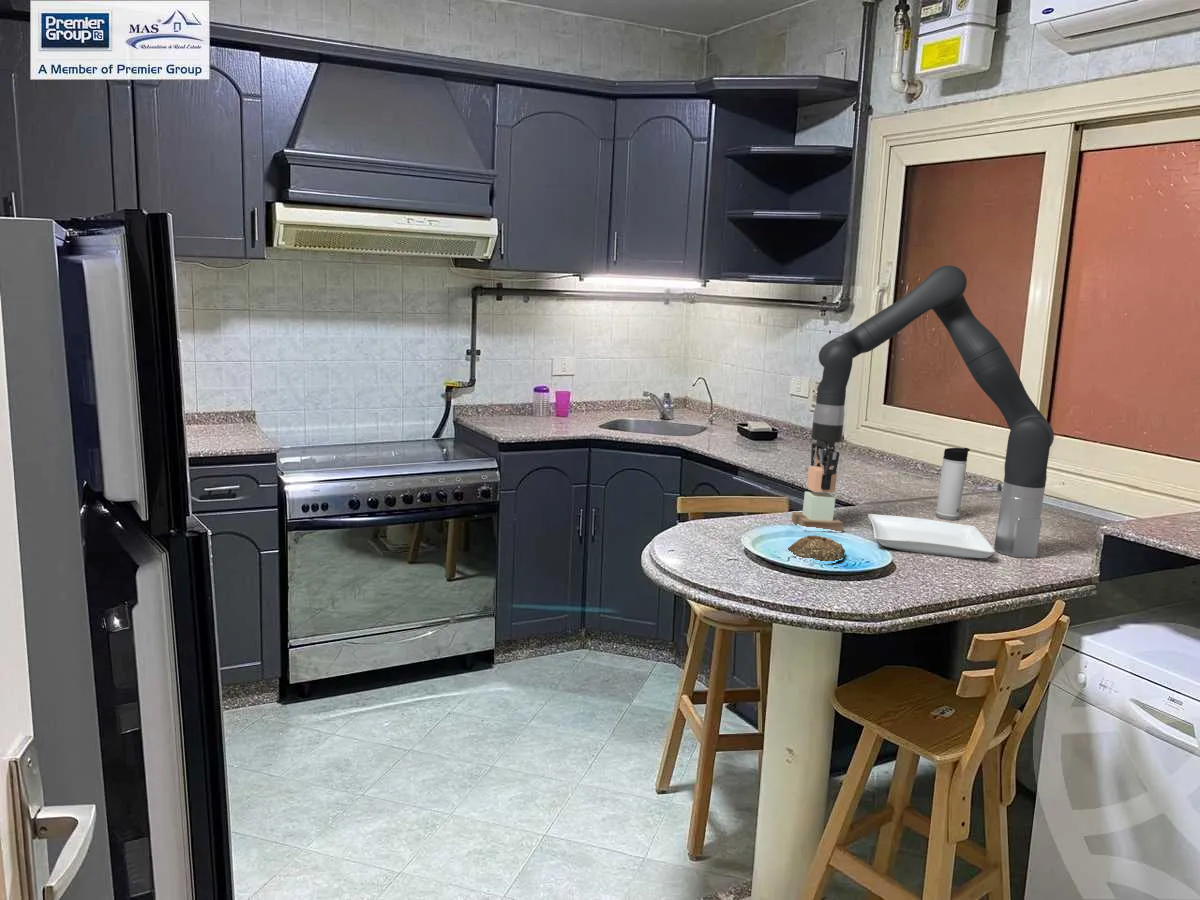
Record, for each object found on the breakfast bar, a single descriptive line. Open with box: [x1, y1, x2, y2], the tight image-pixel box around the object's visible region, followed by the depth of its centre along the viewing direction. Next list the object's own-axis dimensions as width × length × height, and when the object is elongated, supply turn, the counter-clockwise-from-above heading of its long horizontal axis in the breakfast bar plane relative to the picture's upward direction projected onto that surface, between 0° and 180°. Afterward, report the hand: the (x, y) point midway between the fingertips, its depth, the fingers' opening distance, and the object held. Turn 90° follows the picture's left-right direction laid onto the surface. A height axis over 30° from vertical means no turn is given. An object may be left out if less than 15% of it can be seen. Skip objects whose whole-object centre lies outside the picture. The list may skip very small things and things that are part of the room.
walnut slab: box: [791, 511, 844, 532], centre depth 242 cm, size 10×10×2 cm
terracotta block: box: [806, 465, 838, 494], centre depth 239 cm, size 6×6×6 cm
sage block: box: [802, 491, 836, 521], centre depth 241 cm, size 6×6×6 cm
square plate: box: [867, 513, 996, 559], centre depth 233 cm, size 27×27×4 cm
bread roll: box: [787, 535, 846, 561], centre depth 214 cm, size 13×12×5 cm
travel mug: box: [935, 447, 970, 521], centre depth 261 cm, size 6×7×20 cm
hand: (821, 486), depth 240 cm, fingers closed on terracotta block, 5 cm apart
